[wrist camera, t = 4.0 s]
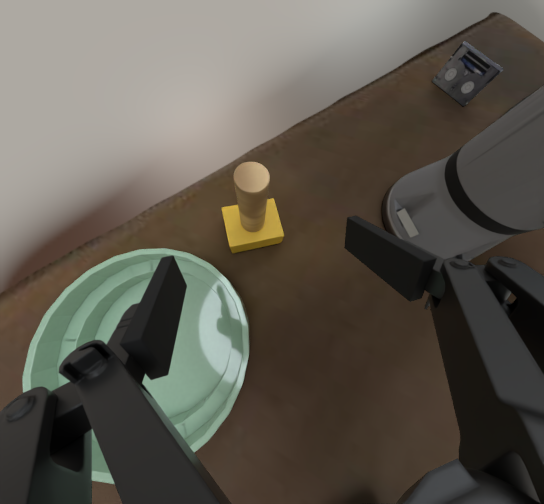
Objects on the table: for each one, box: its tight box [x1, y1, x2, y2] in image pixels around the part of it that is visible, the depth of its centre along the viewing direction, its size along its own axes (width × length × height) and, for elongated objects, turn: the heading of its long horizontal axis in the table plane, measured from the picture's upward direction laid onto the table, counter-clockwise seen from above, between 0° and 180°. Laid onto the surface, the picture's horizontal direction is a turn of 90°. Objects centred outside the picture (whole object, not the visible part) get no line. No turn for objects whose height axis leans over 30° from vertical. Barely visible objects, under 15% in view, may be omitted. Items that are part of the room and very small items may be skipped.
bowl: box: [23, 248, 250, 484], centre depth 20 cm, size 19×19×6 cm
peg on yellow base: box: [222, 162, 284, 253], centre depth 22 cm, size 7×6×12 cm
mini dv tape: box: [432, 41, 503, 106], centre depth 36 cm, size 8×2×6 cm, turn 41°
